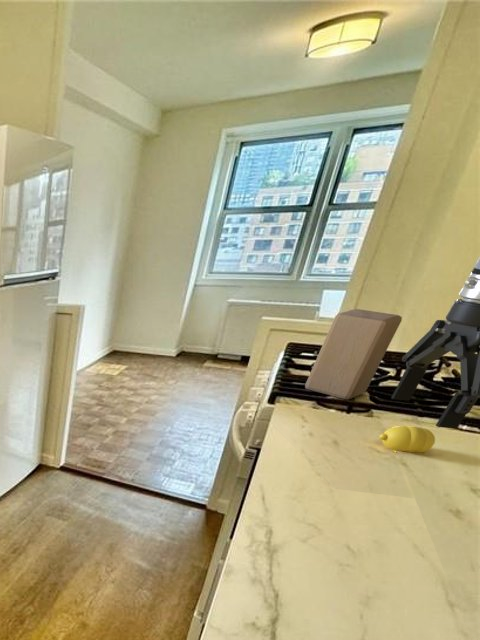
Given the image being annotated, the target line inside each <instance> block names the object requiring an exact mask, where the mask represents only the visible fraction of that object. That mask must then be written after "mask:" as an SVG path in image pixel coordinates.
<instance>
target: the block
mask: <svg viewBox="0 0 480 640" xmlns="http://www.w3.org/2000/svg"><path fill="white" fill-rule="evenodd" d="M402 319H403V317H402V316H401V315H399V314H393V313H386V312H380V311H373V310H366V309H360V308H353V309H349V310H347V311H346V310H345V311H342V312H338V313H337V314H336V315H335V316H334V318H333V320H332V323H331V325H330V328H329V330H328V331H327V334H326V336H325V339H324V341H323V343H322V345H321V347H320V350H319V352H318V355H317V357H316V360H315V361H314V364H313V365H312V368H311V371H310V373H309V376H308V378H307V380H306V382H305V384H304V389H306V390H308V391H311V392H316V393H320V394H323V395H327V396H330V397H334V398H338V399H342V400H346V401H347V400H352V399H353V398H356V397H358V396H360V395H363V394H364V393H366V391H367V390H368V388H369V386H370V384H371V382H372V380H373V378H374V377H375V375H376V373H377V370H378V368H379V366H380V365H381V362H382V360H383V358H384V356H385V355H386V352H387V350H388V348H389V347H390V344H391V342H392V341H393V338H394V337H395V334H396V332H397V330H398V328H399V327H400V325H401V323H402Z"/></svg>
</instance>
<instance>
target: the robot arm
mask: <svg viewBox="0 0 480 640" xmlns="http://www.w3.org/2000/svg"><path fill="white" fill-rule="evenodd" d="M458 295H459V297H460V298H457V299H456V300H454V302H453V303H452V305H451V307H450V309H448V310H449V311H448V312H447V313H446V315H445V319H436V321H435V322H434V323H433V324H432V326H431V327H430V329H429V331H428V332H426V334H424V335H423V336H422V337H421V338H420V339H419V340H418V341H417V342H416V343H415V344H414V345H413V346H412V347H411V348H409V350H408V351H407V352H406V353H405V354H404V355H403V356H402V358H401V361H402V362H405V367H406V368H405V370H404V372H403V374H402V376H401V378H400V381H399V382H398V384H397V386H396V388H395V389H394V392H393V393H392V395H391V397H390V399H392V400H397V401H410V400H411V398H412V397H413V395H414V394H415V391H416V390H417V388H418V387H419V385H420V384H421V381H422V380H423V378H424V376H425V374H426V372H427V370H426V369H427V368H429V365H430V364H432V363H433V362H435V361H437V360H438V359H440V358H442V357H443V356H445V355H446V354H448V353H450V352H451V353H452V354H453V355H455V356H456V359H457V360H459V362H460V364H459V365H460V390H459V391H457V392H455V393H454V395H453V396H452V398H451V399H450V401H449V403H448V404H447V405H446V408H444V410H443V412H442V414H441V415H440V417H439V419H438V420H437V422H436V424H435V426H436V427H437V428H443V429H444V428H445V429H454V430H458V428H459V427H460V425H461V423H462V422H463V420H464V419H465V417H466V415H468V414H469V413H470V412H471V410H472V409H473V407H474V406H475V404H476V403H477V401H478V400H479V399H480V256H479V257H478V259H477V261H476V262H475V265H474V267H473V268H472V270H471V272H470V274H469V276H468V278H467V279H466V280H465V282H464V285H463V287H462V288H461V290H460V292H459V293H458Z"/></svg>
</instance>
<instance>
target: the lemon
mask: <svg viewBox="0 0 480 640" xmlns="http://www.w3.org/2000/svg"><path fill="white" fill-rule="evenodd" d="M379 439H380V440H381V441H382V443H383V446H385V447H386V448H387V449H389V450H391V451H393V452H394V453H395V454H397V453H398V452H399V451H400V452H410V453H424V452H426V451H429V450H430V449H431V448H433V446H434V445H435V443H436V437H435V434H434V433H433V432H432V431H431V430H429V429H428V428H426V427H422V426H414V425H413V426H412V425H395V426H392V427H389V428H388V429H386V430H385V431H384V432H383V433H382V434H379ZM397 451H398V452H397Z"/></svg>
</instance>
